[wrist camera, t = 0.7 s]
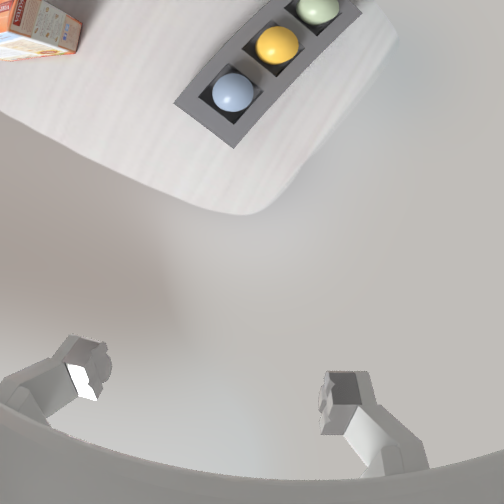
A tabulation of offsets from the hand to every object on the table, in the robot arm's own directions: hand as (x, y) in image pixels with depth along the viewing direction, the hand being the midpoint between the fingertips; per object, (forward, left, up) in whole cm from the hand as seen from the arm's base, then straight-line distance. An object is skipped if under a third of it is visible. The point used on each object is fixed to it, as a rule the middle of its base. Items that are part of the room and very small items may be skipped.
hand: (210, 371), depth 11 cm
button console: (-4, +19, -42) cm, 46 cm away
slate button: (-4, +10, -34) cm, 36 cm away
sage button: (-4, +27, -34) cm, 44 cm away
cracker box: (-36, +1, -42) cm, 55 cm away
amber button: (-4, +19, -34) cm, 39 cm away
